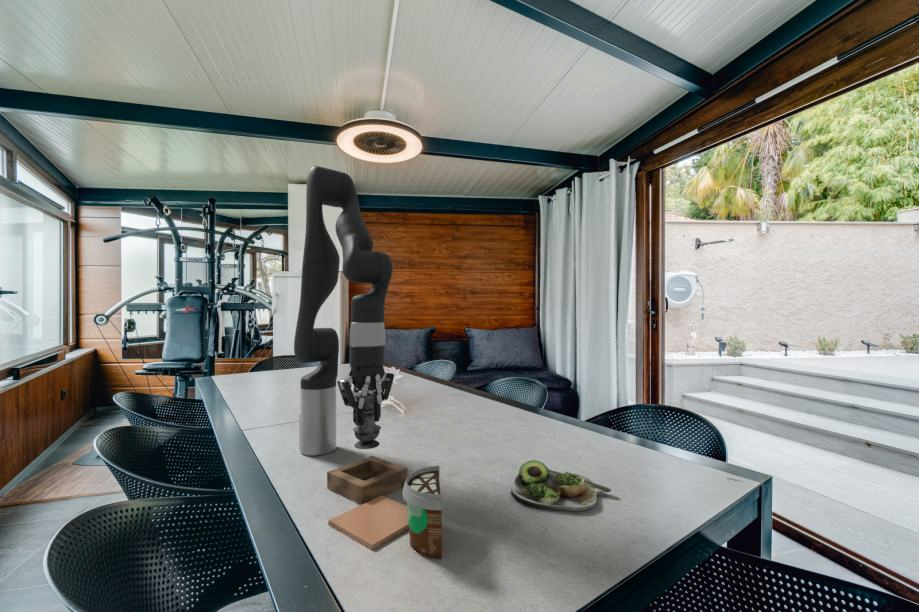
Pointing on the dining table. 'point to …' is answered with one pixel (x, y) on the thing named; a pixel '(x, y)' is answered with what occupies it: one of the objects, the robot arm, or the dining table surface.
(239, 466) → the dining table surface
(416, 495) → the food container
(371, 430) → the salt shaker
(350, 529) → the terracotta tile
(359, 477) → the walnut socket block
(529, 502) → the avocado toast plate
